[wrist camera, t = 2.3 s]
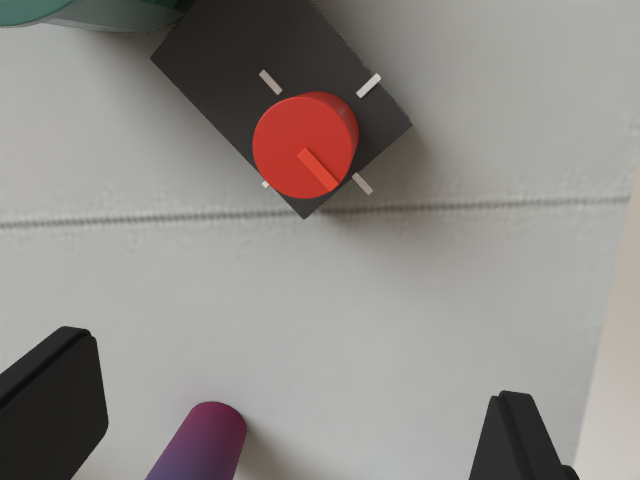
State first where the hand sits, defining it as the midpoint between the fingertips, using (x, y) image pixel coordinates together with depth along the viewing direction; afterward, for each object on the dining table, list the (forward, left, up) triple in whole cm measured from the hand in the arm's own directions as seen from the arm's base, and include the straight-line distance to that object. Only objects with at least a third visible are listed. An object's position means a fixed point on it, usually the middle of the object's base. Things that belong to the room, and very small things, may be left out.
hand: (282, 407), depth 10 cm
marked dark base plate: (-4, +6, -19) cm, 20 cm away
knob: (-2, +4, -16) cm, 16 cm away
